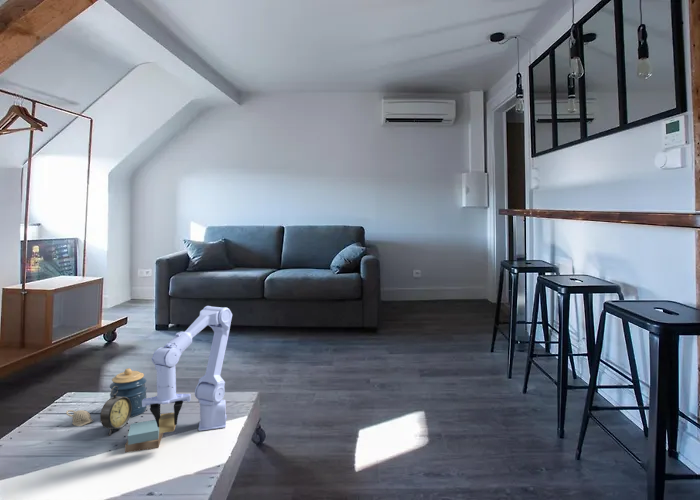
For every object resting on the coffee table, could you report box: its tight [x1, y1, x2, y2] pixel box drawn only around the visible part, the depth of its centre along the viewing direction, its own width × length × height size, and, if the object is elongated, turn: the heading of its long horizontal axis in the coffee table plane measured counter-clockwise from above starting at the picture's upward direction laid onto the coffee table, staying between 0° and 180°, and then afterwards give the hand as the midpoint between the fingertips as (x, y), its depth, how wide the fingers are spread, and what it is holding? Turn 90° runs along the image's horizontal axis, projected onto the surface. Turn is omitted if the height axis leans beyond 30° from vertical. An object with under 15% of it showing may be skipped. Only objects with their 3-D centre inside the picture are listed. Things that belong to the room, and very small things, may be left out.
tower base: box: [124, 433, 164, 453], centre depth 140 cm, size 10×10×3 cm
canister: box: [109, 368, 148, 418], centre depth 163 cm, size 13×13×18 cm
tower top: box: [127, 419, 159, 445], centre depth 139 cm, size 9×9×3 cm
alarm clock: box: [99, 386, 132, 437], centre depth 148 cm, size 11×5×16 cm, turn 168°
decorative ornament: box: [65, 409, 94, 427], centre depth 154 cm, size 4×8×5 cm, turn 90°
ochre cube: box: [159, 412, 177, 434], centre depth 134 cm, size 4×4×4 cm
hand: (167, 424), depth 134 cm, fingers closed on ochre cube, 4 cm apart
